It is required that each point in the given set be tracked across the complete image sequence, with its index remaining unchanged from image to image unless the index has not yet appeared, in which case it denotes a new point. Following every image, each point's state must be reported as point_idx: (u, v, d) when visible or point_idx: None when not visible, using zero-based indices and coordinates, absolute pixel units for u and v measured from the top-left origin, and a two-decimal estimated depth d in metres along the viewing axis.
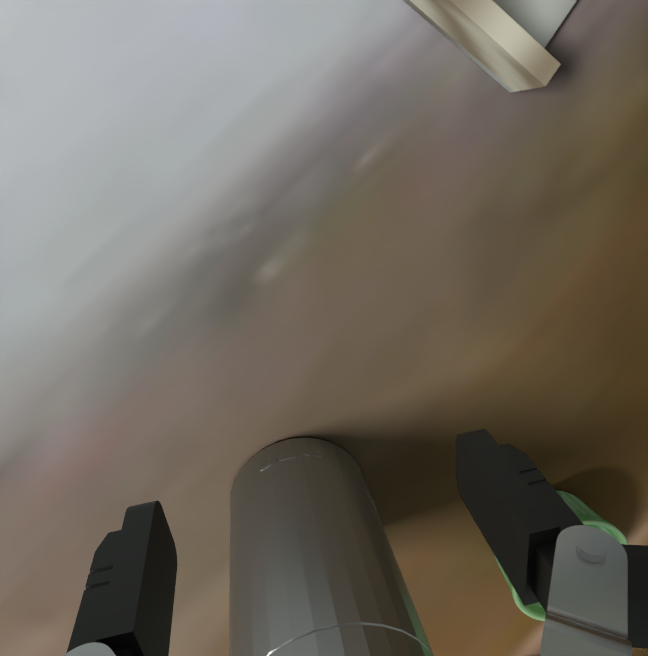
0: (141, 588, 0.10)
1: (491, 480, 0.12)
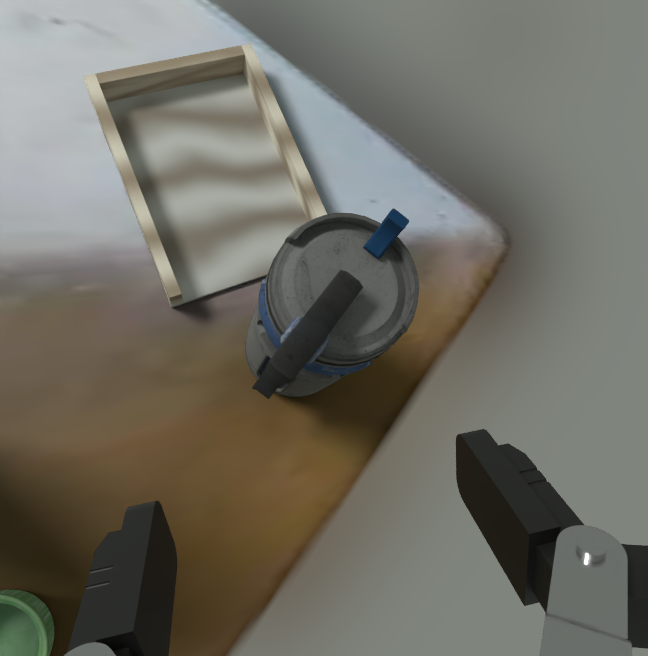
0: (141, 588, 0.10)
1: (491, 480, 0.12)
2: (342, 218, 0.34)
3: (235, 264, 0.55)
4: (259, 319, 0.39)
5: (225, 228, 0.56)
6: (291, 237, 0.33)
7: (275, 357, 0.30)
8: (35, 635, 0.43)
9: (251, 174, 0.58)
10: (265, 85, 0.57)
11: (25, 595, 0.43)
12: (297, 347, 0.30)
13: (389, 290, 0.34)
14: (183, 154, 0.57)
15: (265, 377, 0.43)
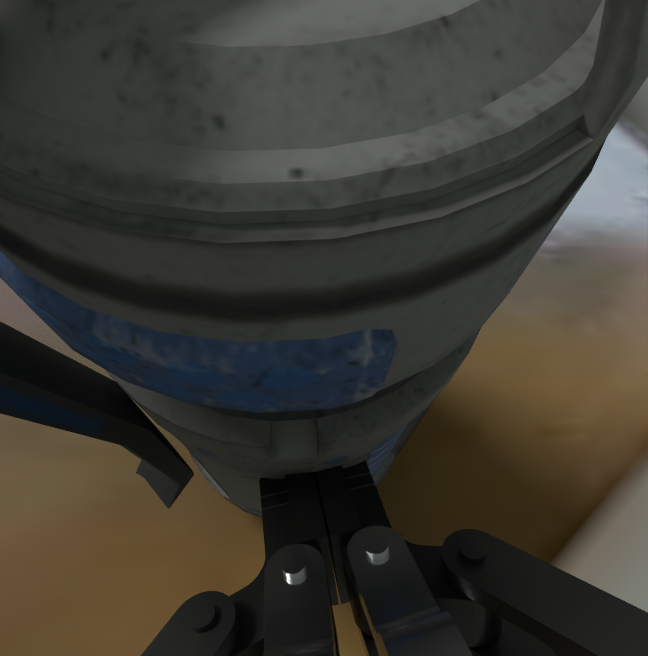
0: (320, 505, 0.12)
1: (318, 484, 0.12)
2: None
3: None
4: None
5: None
6: None
7: None
8: None
9: None
10: None
11: None
12: None
13: None
14: None
15: None
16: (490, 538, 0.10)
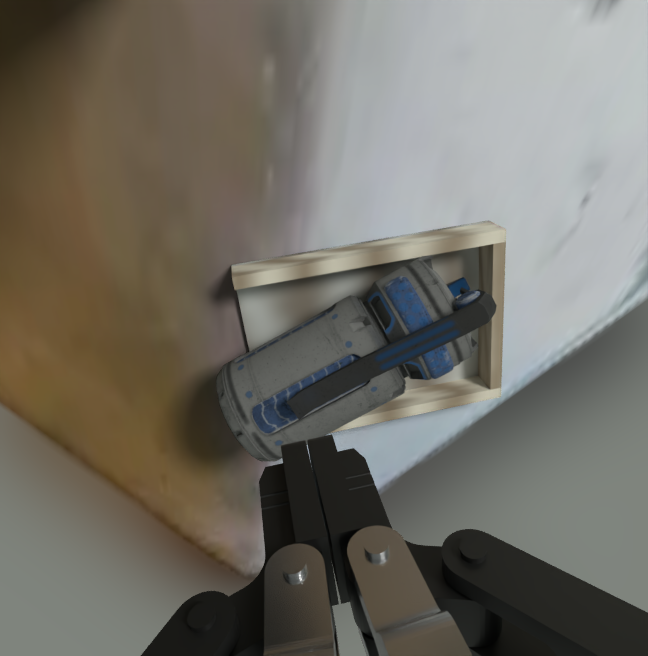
0: (320, 505, 0.12)
1: (317, 484, 0.12)
2: None
3: (268, 336, 0.51)
4: (361, 315, 0.43)
5: None
6: (431, 255, 0.46)
7: (483, 301, 0.39)
8: None
9: None
10: (451, 403, 0.55)
11: None
12: (492, 300, 0.40)
13: None
14: None
15: (334, 379, 0.42)
16: (490, 538, 0.10)
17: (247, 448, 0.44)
